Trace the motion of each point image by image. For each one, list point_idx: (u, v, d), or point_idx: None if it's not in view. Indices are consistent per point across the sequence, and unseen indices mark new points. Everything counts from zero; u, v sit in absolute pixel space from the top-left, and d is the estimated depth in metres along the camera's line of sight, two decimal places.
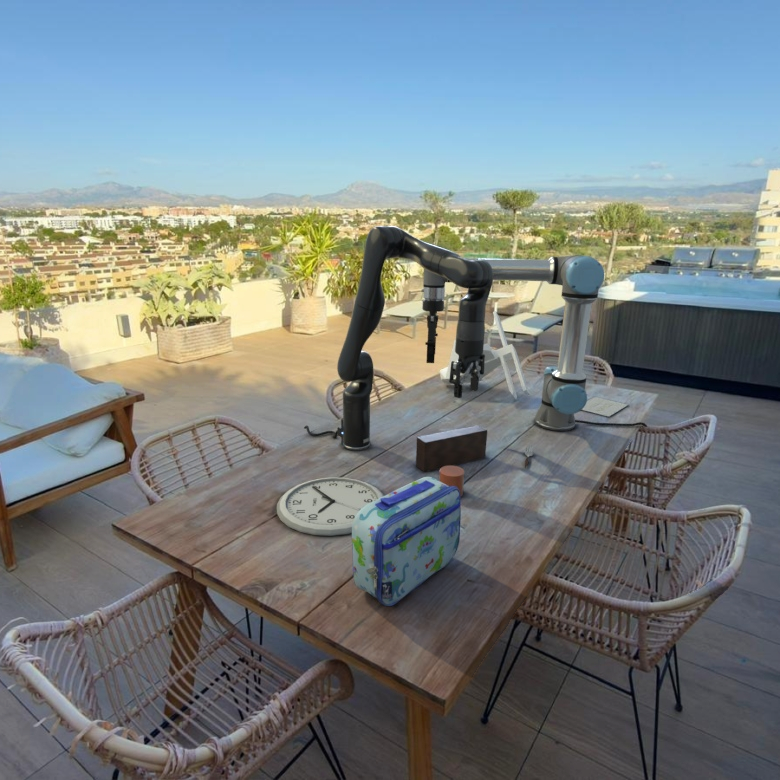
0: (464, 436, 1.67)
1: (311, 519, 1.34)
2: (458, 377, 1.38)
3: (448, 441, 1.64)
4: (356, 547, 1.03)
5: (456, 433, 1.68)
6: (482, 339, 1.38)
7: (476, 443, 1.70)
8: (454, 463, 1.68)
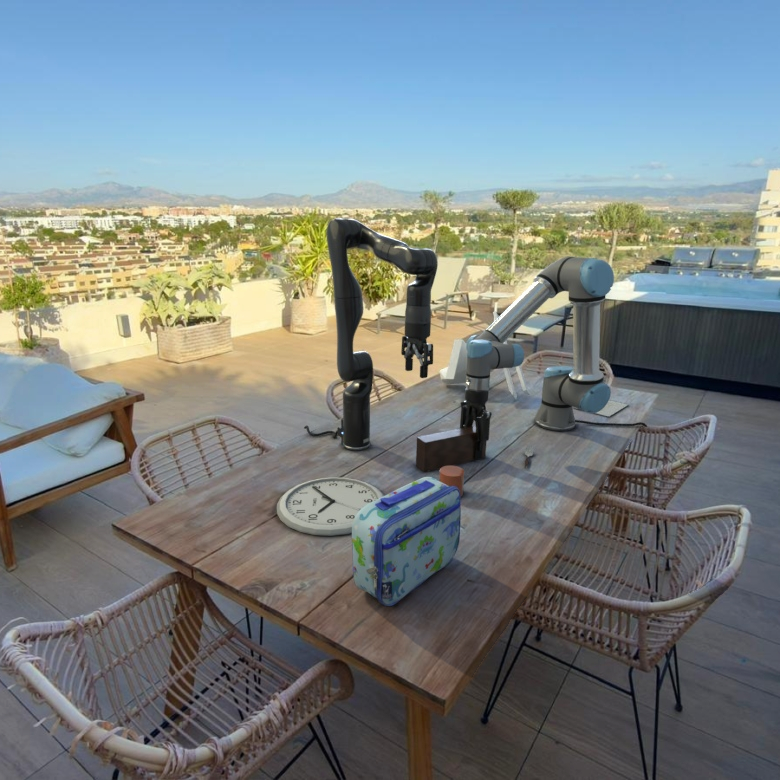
0: (464, 436, 1.67)
1: (311, 519, 1.34)
2: None
3: (448, 441, 1.64)
4: (356, 547, 1.03)
5: (456, 433, 1.68)
6: None
7: None
8: (454, 463, 1.68)
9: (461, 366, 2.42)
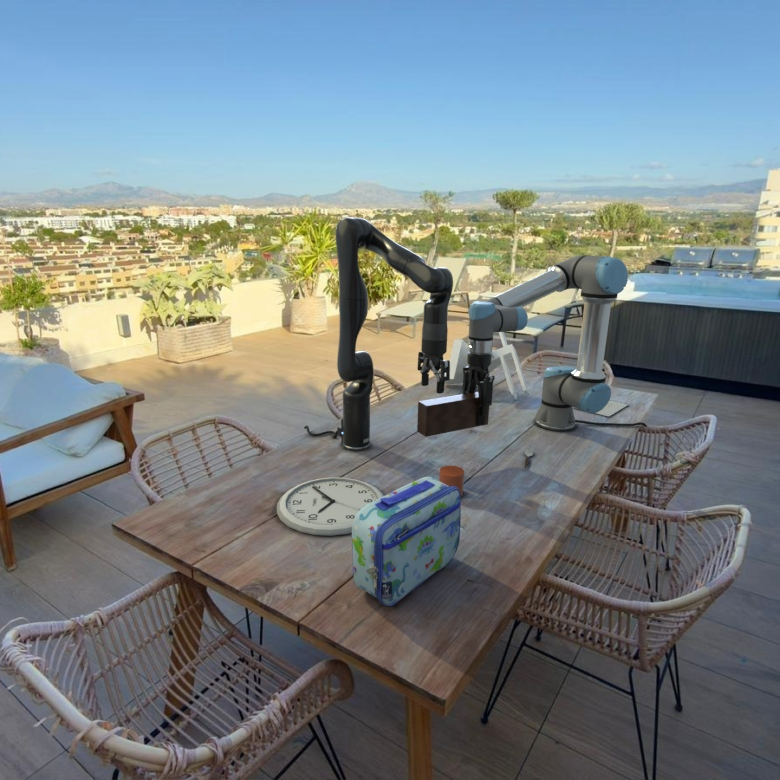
0: (466, 401, 1.63)
1: (311, 519, 1.34)
2: None
3: (450, 406, 1.61)
4: (356, 547, 1.03)
5: (458, 398, 1.64)
6: None
7: None
8: (456, 429, 1.65)
9: (461, 366, 2.42)
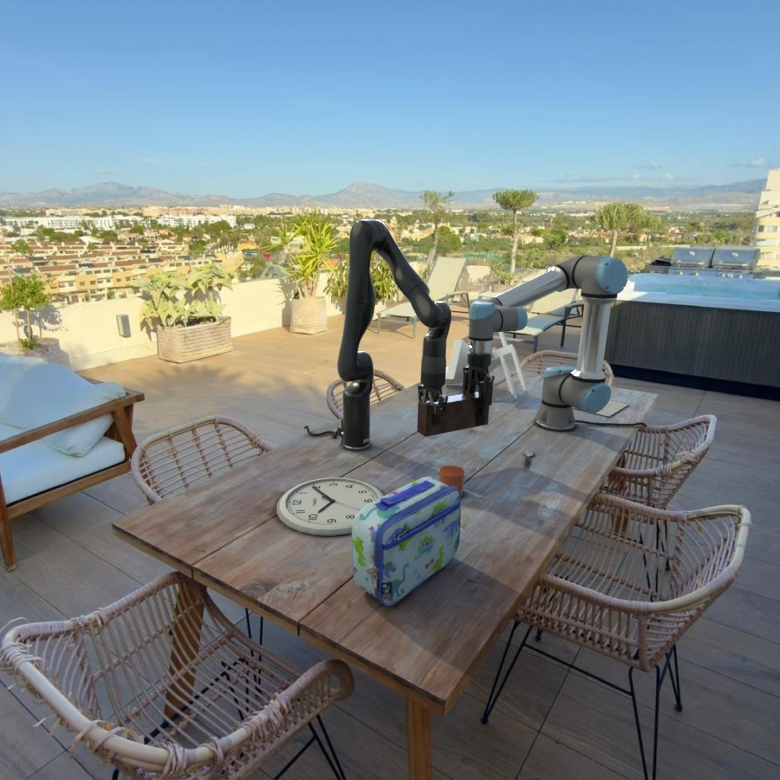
0: (466, 401, 1.63)
1: (311, 519, 1.34)
2: None
3: (450, 406, 1.61)
4: (356, 547, 1.03)
5: (458, 398, 1.64)
6: None
7: None
8: (456, 429, 1.65)
9: (461, 366, 2.42)
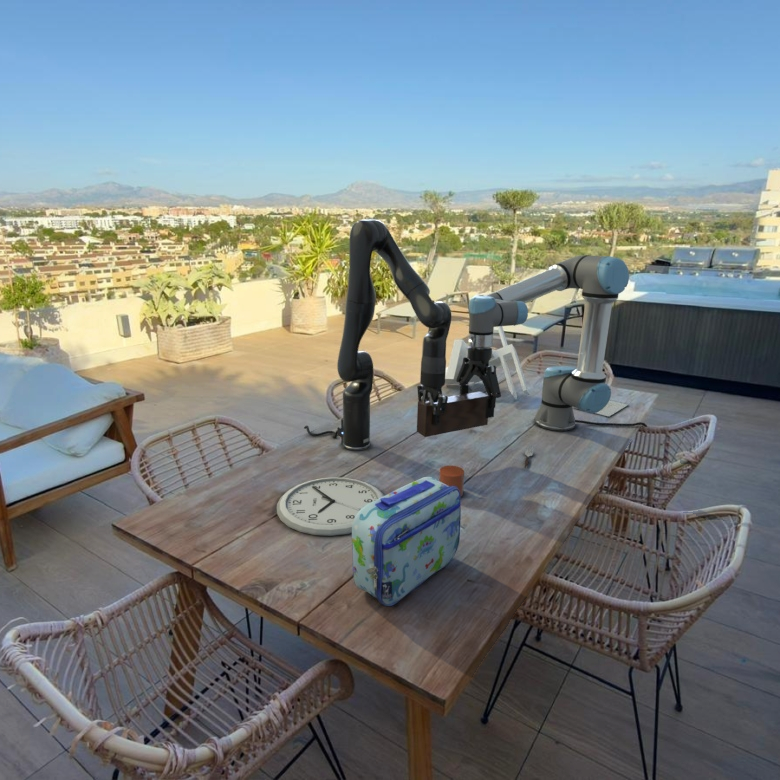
0: (466, 401, 1.64)
1: (311, 519, 1.34)
2: None
3: (449, 406, 1.61)
4: (356, 547, 1.03)
5: (458, 398, 1.64)
6: None
7: (479, 409, 1.67)
8: (456, 429, 1.65)
9: (461, 366, 2.42)
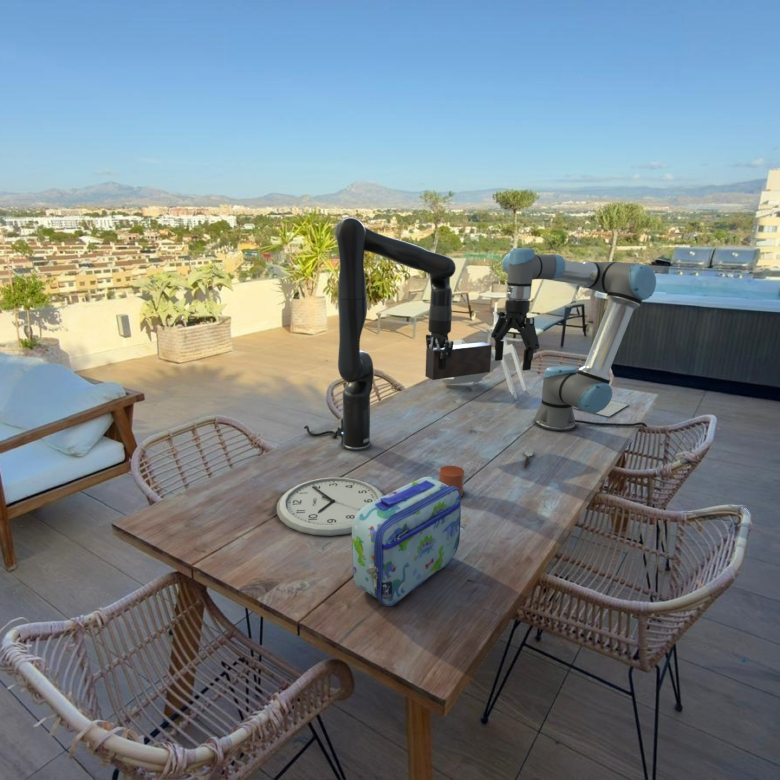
0: (470, 348, 1.80)
1: (311, 519, 1.34)
2: None
3: (455, 352, 1.77)
4: (356, 547, 1.03)
5: (463, 346, 1.81)
6: None
7: (482, 357, 1.83)
8: (461, 374, 1.81)
9: None
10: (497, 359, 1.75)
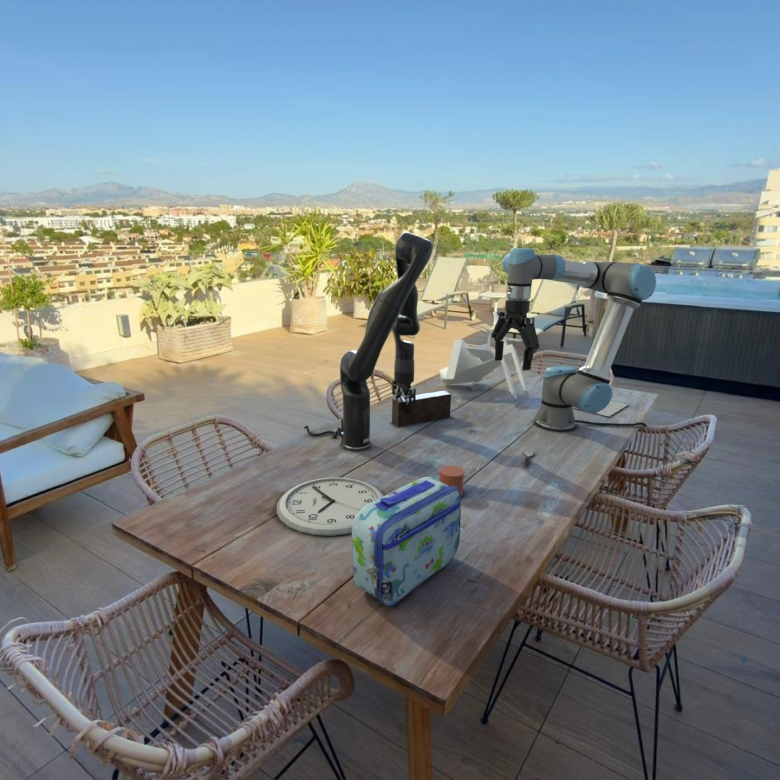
0: (431, 398, 2.03)
1: (311, 519, 1.34)
2: None
3: (418, 402, 2.01)
4: (356, 547, 1.03)
5: (425, 396, 2.04)
6: None
7: (442, 405, 2.07)
8: (423, 421, 2.04)
9: (461, 366, 2.42)
10: (497, 359, 1.75)
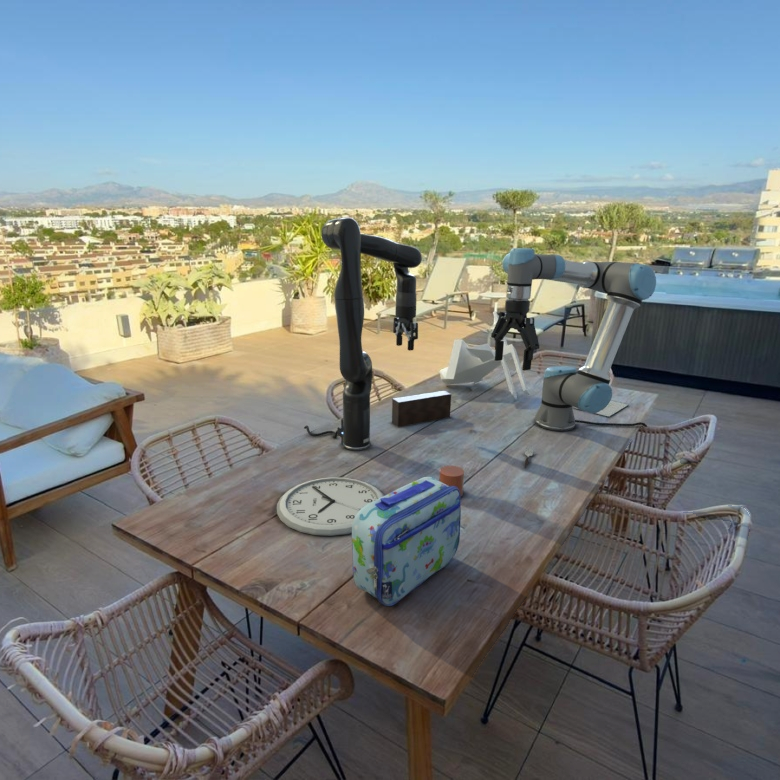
0: (431, 398, 2.03)
1: (311, 519, 1.34)
2: None
3: (418, 402, 2.01)
4: (356, 547, 1.03)
5: (425, 396, 2.04)
6: None
7: (442, 405, 2.07)
8: (423, 421, 2.04)
9: (461, 366, 2.42)
10: (497, 359, 1.75)
